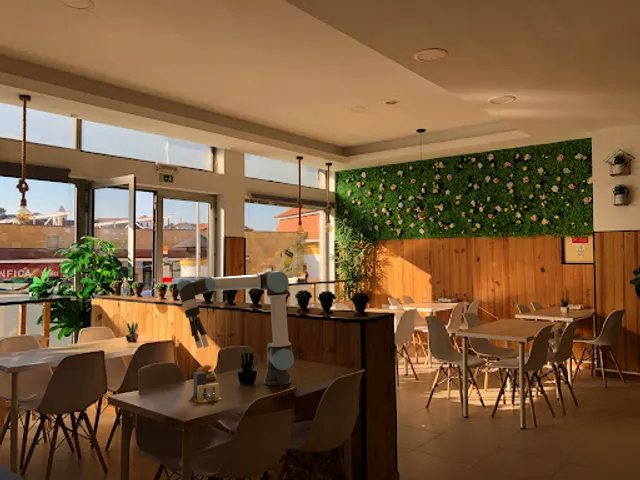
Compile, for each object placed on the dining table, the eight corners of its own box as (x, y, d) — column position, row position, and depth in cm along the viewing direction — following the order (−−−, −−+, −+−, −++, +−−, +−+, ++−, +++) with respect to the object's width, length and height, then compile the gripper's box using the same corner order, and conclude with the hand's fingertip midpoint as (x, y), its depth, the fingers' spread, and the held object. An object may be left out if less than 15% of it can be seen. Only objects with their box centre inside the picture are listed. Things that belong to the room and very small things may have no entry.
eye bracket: (216, 397, 279) (216, 382, 279) (221, 399, 274) (221, 384, 274) (194, 400, 272) (194, 385, 272) (199, 403, 267) (199, 387, 267)
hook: (202, 394, 285) (202, 371, 286) (218, 402, 268) (218, 378, 269) (193, 395, 282) (193, 372, 283) (209, 403, 265) (209, 379, 266)
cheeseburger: (217, 381, 316) (212, 364, 316) (199, 386, 314) (194, 370, 314) (216, 377, 326) (212, 361, 326) (199, 382, 324) (195, 366, 324)
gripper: (191, 312, 298) (202, 349, 294) (177, 310, 273) (190, 350, 269) (203, 307, 298) (215, 344, 294) (191, 305, 273) (204, 345, 270)
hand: (203, 347), depth 282 cm, fingers open, 13 cm apart
